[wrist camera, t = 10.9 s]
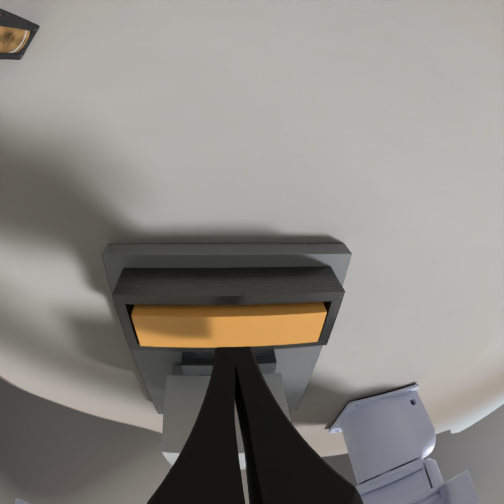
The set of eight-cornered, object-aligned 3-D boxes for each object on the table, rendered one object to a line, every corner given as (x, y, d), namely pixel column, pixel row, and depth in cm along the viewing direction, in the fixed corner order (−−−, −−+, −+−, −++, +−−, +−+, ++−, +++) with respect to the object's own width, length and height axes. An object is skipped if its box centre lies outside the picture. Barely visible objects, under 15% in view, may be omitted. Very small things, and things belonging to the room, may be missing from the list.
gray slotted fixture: (330, 266, 14) (345, 291, 12) (287, 405, 21) (291, 425, 19) (123, 267, 12) (111, 294, 11) (167, 409, 20) (166, 430, 18)
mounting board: (344, 243, 14) (351, 253, 13) (294, 400, 23) (297, 409, 22) (108, 244, 13) (101, 255, 12) (159, 404, 21) (158, 413, 20)
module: (278, 362, 17) (296, 447, 12) (271, 392, 19) (284, 465, 14) (167, 364, 16) (161, 452, 11) (176, 395, 18) (174, 469, 13)
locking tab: (314, 284, 14) (327, 312, 12) (307, 313, 15) (317, 341, 13) (140, 286, 13) (131, 315, 11) (147, 316, 14) (140, 346, 12)
